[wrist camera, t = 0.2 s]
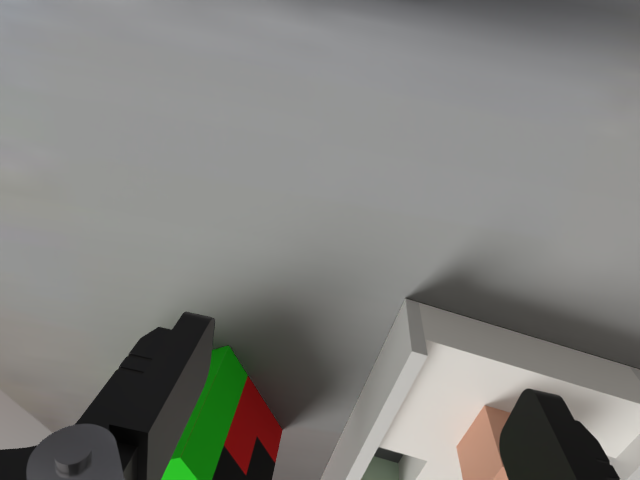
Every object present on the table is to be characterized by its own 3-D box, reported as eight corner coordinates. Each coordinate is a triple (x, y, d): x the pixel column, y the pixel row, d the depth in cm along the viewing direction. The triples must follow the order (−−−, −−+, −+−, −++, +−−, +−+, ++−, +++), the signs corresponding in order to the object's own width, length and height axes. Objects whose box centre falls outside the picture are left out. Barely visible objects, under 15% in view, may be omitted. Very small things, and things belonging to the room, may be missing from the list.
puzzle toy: (188, 449, 41) (137, 568, 32) (128, 373, 37) (52, 484, 28) (282, 429, 38) (256, 552, 29) (229, 344, 34) (180, 457, 26)
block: (484, 404, 29) (502, 466, 25) (547, 423, 29) (575, 487, 25) (456, 446, 31) (468, 509, 27) (515, 464, 31) (536, 528, 27)
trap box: (405, 298, 31) (411, 351, 26) (641, 370, 31) (691, 434, 26) (316, 487, 41) (309, 549, 36) (494, 537, 42) (511, 606, 37)
